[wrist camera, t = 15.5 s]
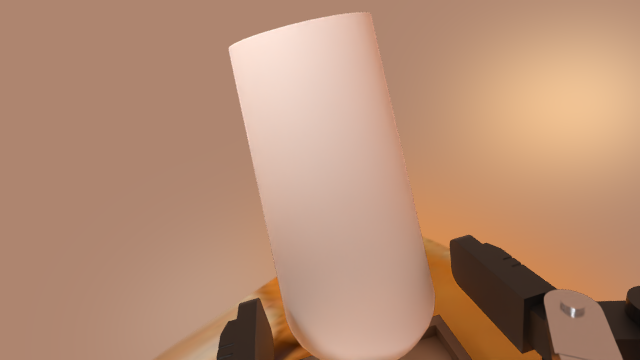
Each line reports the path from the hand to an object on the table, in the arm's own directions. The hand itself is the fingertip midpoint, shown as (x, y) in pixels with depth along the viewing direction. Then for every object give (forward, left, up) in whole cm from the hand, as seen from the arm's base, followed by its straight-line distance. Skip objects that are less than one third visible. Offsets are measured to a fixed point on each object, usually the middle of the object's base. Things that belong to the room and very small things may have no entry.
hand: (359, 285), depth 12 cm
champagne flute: (0, +1, -15) cm, 15 cm away
